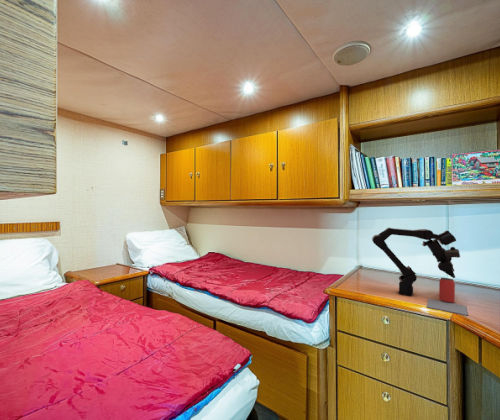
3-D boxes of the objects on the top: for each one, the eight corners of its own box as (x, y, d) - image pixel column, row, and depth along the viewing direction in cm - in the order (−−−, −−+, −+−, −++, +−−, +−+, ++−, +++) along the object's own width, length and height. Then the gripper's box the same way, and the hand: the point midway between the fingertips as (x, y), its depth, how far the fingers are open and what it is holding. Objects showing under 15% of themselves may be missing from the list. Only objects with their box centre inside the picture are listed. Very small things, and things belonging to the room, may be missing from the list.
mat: (426, 307, 128) (426, 306, 128) (428, 299, 139) (428, 298, 139) (468, 316, 118) (468, 315, 118) (466, 306, 129) (466, 305, 129)
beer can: (454, 301, 136) (455, 279, 137) (454, 304, 131) (454, 280, 132) (439, 298, 140) (439, 276, 141) (438, 301, 135) (439, 278, 136)
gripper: (453, 248, 130) (473, 276, 128) (451, 239, 145) (469, 263, 142) (430, 256, 137) (448, 283, 134) (431, 247, 152) (447, 270, 149)
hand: (453, 274), depth 140 cm, fingers open, 9 cm apart
